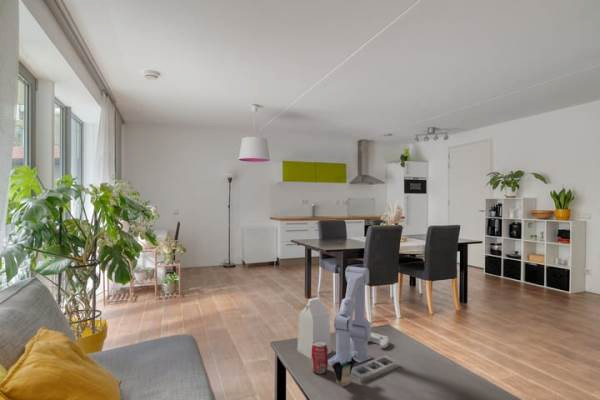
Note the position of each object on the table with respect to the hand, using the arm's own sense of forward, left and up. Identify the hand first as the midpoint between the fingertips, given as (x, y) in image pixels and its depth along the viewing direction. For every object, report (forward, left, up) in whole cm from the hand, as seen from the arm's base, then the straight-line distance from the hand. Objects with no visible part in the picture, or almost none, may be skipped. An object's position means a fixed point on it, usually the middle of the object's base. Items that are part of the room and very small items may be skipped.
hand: (343, 378), depth 139 cm
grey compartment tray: (0, +18, -2) cm, 18 cm away
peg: (0, 0, -2) cm, 2 cm away
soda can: (-13, -2, -2) cm, 13 cm away
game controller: (-19, +39, -2) cm, 43 cm away
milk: (-29, +7, -2) cm, 30 cm away
